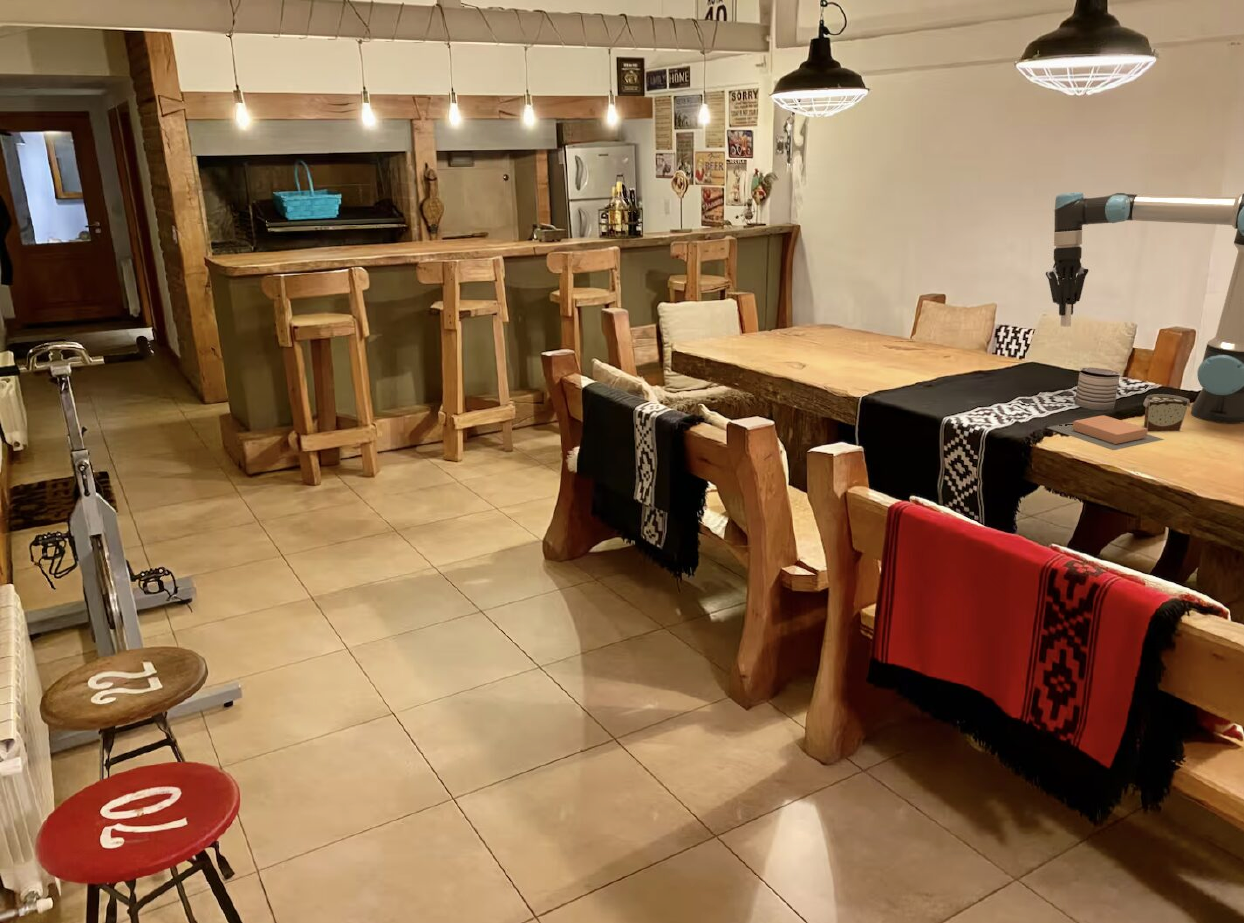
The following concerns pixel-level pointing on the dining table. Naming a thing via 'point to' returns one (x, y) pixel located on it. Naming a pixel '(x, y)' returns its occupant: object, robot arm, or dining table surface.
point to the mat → (1100, 442)
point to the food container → (1165, 412)
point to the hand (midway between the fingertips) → (1065, 326)
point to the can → (1097, 388)
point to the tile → (1109, 429)
